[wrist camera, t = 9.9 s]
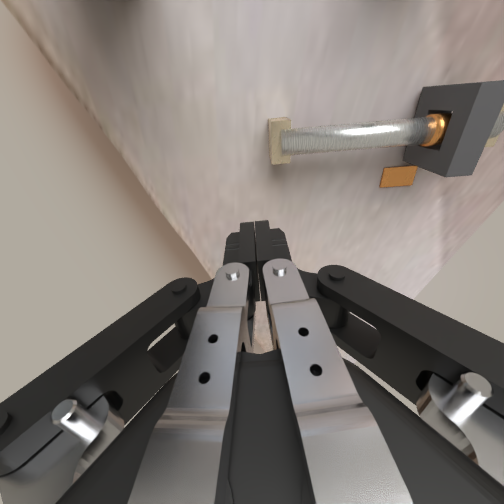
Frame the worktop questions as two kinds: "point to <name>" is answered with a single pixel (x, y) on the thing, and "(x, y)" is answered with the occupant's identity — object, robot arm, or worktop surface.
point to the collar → (458, 126)
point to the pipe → (365, 139)
